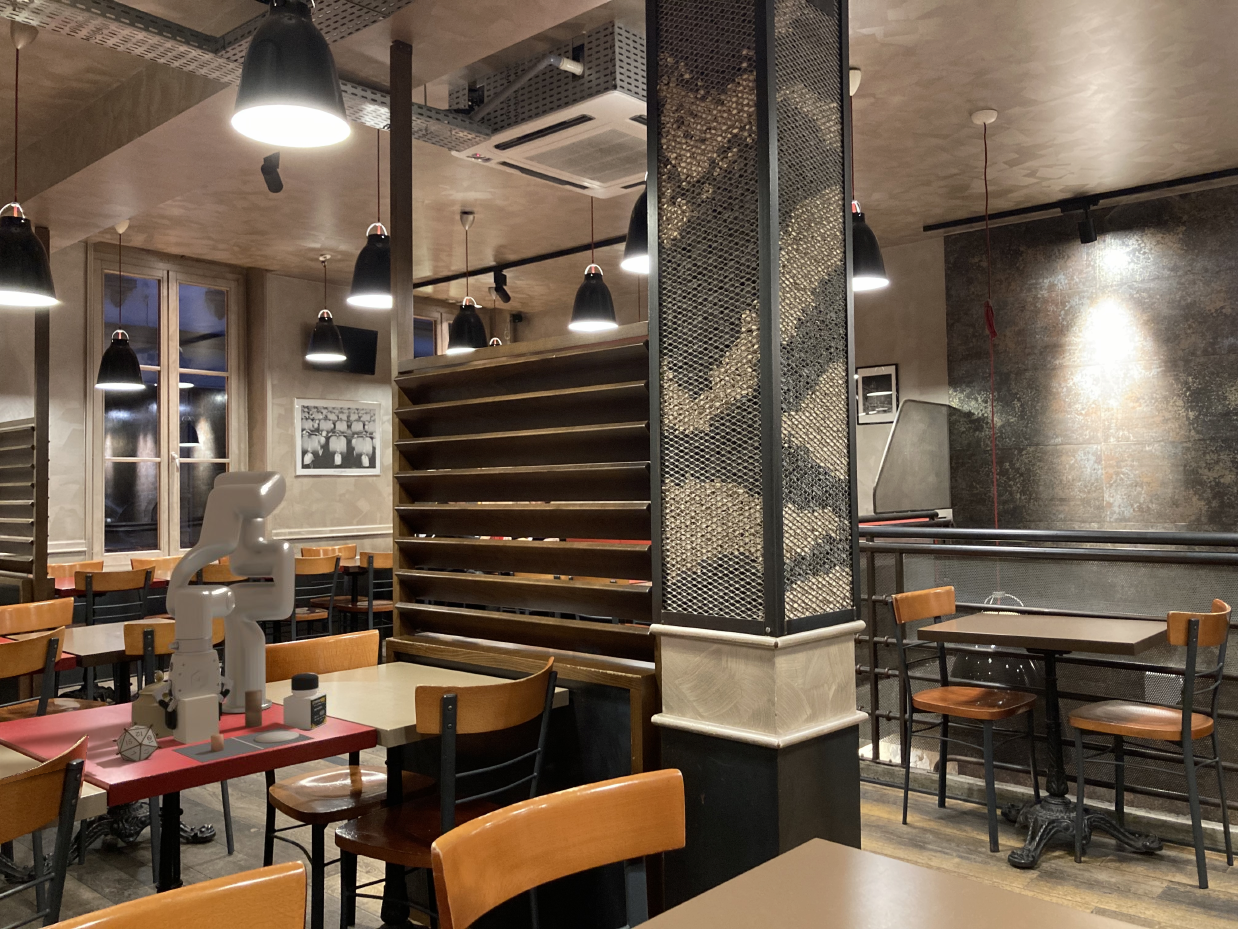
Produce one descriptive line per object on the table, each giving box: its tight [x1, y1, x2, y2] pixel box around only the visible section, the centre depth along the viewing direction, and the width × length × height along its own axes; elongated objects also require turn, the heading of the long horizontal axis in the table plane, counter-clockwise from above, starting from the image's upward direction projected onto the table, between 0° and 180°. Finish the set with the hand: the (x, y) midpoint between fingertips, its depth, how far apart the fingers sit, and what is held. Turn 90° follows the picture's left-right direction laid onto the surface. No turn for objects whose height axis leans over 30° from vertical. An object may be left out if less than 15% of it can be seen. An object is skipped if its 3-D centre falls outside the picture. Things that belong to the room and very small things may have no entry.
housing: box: [173, 694, 220, 745], centre depth 206 cm, size 7×10×7 cm
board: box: [172, 727, 316, 763], centre depth 200 cm, size 15×24×4 cm, turn 137°
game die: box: [111, 721, 164, 762], centre depth 190 cm, size 9×8×10 cm
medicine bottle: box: [282, 672, 327, 731], centre depth 220 cm, size 7×7×12 cm
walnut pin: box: [244, 690, 263, 729], centre depth 216 cm, size 4×4×9 cm
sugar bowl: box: [130, 670, 174, 740], centre depth 212 cm, size 15×11×15 cm
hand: (194, 724), depth 207 cm, fingers open, 9 cm apart
